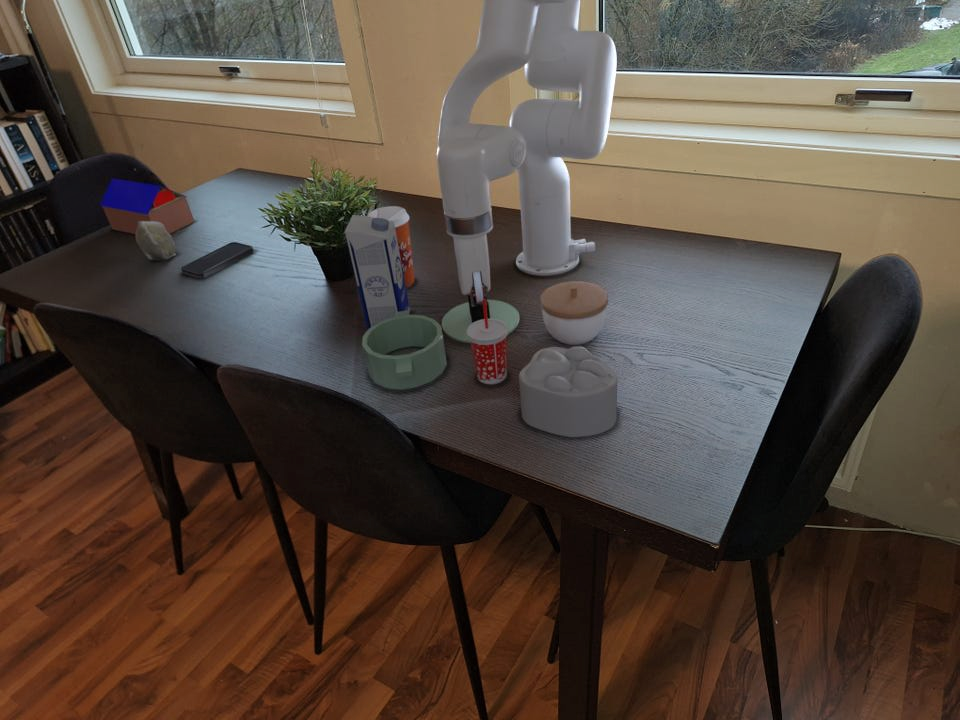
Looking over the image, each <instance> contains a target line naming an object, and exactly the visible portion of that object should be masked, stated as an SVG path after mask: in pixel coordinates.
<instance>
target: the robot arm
mask: <svg viewBox="0 0 960 720" xmlns="http://www.w3.org/2000/svg"><path fill="white" fill-rule="evenodd" d="M580 8H581V0H482V8H481V15H480V23H479V29H478V35H477V43H476V47H475V49H474V52H473V53H472V55H471V56H470V58H469V59H468V60H467V61H466V62H465V63H464V64H463V66H462V67H461V68H460V70H459V71H458V73H457V74H456V75H455V77H454V79H453V81H452V82H451V83H450V86H449V87H448V89H447V90H446V93H445V96H444V98H443V101H442V106H441V111H440V119H439V126H438V136H437V150H436V155H435V157H436V164H437V165H436V166H437V171H438V172H437V173H438V179H439V185H440V187H439V188H440V193H441V200H442V208H443V215H444V222H445V230H446V234H447V235H449V236H450V237H451V238H453V247H454V254H455V262H456V269H457V270H456V271H457V277H458V283H459V288H460V292H461V294H462V295H463V296H466V295H467V302H469V309H470V315H471V320H472V323H473V322H476V321H478V320H482V319H484V310H483V301H482V299H486V308H487V317H488V319H490V312H489V303H488V302H487V300H488V295H487V293H488V292H490V290H491V269H490V254H489V245H488V235H487V234H489V233H491V232H492V230H493V229H494V221H493V220H494V219H493V209H492V201H491V192H490V191H491V190H490V183H492V182H493V181H495V180H498V179H502V178H506V177H508V176H511V175H513V174H514V173H515V172H516V171H517V179H518V193H519V207H520V223H521V238H522V251H521V252H520V253H519V254H517V256H516V258H515V265H516V267H517V268H518V269H519V270H520V271H521V272H524V273H526V274H528V275H533V276H542V277H546V276H547V277H548V276H549V277H550V276H556V275H561V274H565V273H567V272H569V271H571V270H573V269H575V268H576V267H577V266H578V264H579V263H580V254H582V253H591V252H595V251H596V243H595V241H589V242H587V241H586V238H580V239H577V240H574V238H572V232H571V231H572V229H571V226H572V225H571V224H572V223H571V180H570V173H569V170H568V168H567V165H566V163H565V161H564V160H563V159H571V160H573V159H574V160H593V159H596V158H597V157H599V155H600V154H602V152H603V150H604V148H605V146H606V141H607V139H608V133H609V125H610V120H611V113H612V112H611V111H612V105H613V98H614V92H615V91H614V90H615V83H616V78H617V77H616V75H617V66H618V65H617V64H618V60H617V59H618V58H617V57H618V56H617V49H616V45H615V42H614V40H613V38H612V37H611V36H610V35H609V34H607V33H606V32H604V31H599V30H579V22H580V21H579V20H580V18H579V17H580V10H581V9H580ZM522 68H524V77H525V78H524V79H525V80H526V83H527V84H528V85H529V87H531V88H533V89H536V90H539V91H548V92H562V93H563V92H566V93H578V95H579V96H578V97H579V100H567V99H554V98H552V99H551V98H532V99H527V100H524V101H522V102H520V103H519V104H517V105H516V106H515V108H514V109H513V111H512V112H511V114H510V118H509V126H505V125H495V124H485V123H484V124H483V123H474V122H473V123H472V122H470V121H471V116H472V111H473V109H474V105H475V104H476V102H477V100H478V99H479V97H480V96H481V95H482V93H483V92H484V91H485V90H487V88H489V87H490V86H491V85H493V84H494V83H496V82H498V81H499V80H501V79H503V78H504V77H506V76H508V75H510V74H512V73H514V72H516V71H518V70H520V69H522ZM473 294H475V295H476V296H474V297H473Z"/></svg>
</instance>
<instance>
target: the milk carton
mask: <svg viewBox="0 0 960 720" xmlns="http://www.w3.org/2000/svg"><path fill="white" fill-rule="evenodd" d="M344 232H345V233H344V234H345V237H346V242H347V247H348V250H349V255H350V258H351V263H352V267H353V272H354V276H355V280H356V281H355V282H356V285H357V289H358V294H359V299H360V303H361V307H362V312H363V315H364V316H363V317H364V321H365V324H366V329H367V330H368V329H369V328H371V327H373V326H374V325H376V324H377V323H379V322H381V321H383V320H386V319H389V318H392V317H395V312H400V311H407V310H409V313H410V314H411V308H410V307H411V306H410V302H409V297H408V292H407V287H406V285H405V280H404V275H403V269H402V264H401V258H400V253H399V247H398V242H397V236H396V231H395V225H394V221H389V220H386V219H383V218H374V217H369V216H368V215H358V214H352V216H351V218H350V220H349V221H348V224H347V226H346V228H345V230H344Z"/></svg>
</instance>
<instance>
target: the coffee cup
mask: <svg viewBox="0 0 960 720" xmlns="http://www.w3.org/2000/svg"><path fill="white" fill-rule="evenodd" d="M367 216H369V217H374V218H383V219H386V220H389V221H394V225H395V231H396V236H397V242H398V247H399V253H400V258H401V264H402V269H403V275H404V280H405V285H406V288H408V287H409V286H411V285H413V284H414V283H415V271H414V270H415V269H414V261H413V251H412V244H411V243H412V241H411V233H410V225H409V221H410V218H411V217H410V215H409V214H408V213H407V210H406V209H405V208H404V207H401V206H397V205H391V206H390V205H389V206H383V207H379V208H376V209H373V210H371V211H370V212H369V213H368V214H367Z"/></svg>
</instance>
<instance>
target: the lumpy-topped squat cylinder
mask: <svg viewBox="0 0 960 720" xmlns="http://www.w3.org/2000/svg"><path fill="white" fill-rule="evenodd" d="M518 374H519V375H518V386H519V397H520V409H521V418H522V420H523V421H524V422H525V423H526V424H527V425H528V426H530V427H532V428H535V429H538V430H540V431H544V432H545V433H546V432H547V433H550V434H554V435H557V436H561V437H568V438H581V437H590V436H595V435H600V434H602V433H605V432H607V431H608V430H610V429H612V428H613V427H614V426H615V424H616V422H617V415H618V414H617V412H618V376H617V373H616V371H615V369H614V367H612V365H610V363H608V362H607V361H606V360H604V359H603V358H601V357H600V356H598V355H595V354H593V353H591V352H590V351H589V350H588V349H587V348H585V347H583V346H581V345H574V346H572V347H570V348H565V347H558V346H549V347H544V348H542V349H539V350H538V351H536V352H535V353H533V356H532V357H531V360H530V361H529V363H528V364H527V365H526V366H524V367H523V368H522V369H521V370H520V371H519V373H518Z"/></svg>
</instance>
